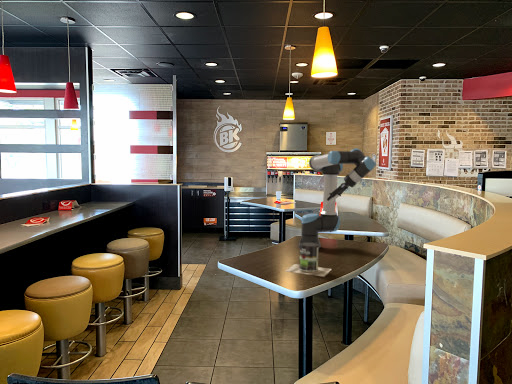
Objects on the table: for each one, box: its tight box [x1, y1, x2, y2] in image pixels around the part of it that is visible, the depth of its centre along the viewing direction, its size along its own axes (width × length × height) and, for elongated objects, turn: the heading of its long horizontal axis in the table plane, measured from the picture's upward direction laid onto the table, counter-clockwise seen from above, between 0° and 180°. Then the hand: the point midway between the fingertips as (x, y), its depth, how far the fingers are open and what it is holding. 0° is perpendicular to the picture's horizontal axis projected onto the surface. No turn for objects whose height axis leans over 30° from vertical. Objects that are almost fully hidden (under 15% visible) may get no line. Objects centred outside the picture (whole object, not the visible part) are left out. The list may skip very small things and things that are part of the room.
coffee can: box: [298, 242, 319, 272], centre depth 215 cm, size 10×10×14 cm
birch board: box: [284, 263, 332, 278], centre depth 215 cm, size 22×16×1 cm
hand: (326, 202), depth 237 cm, fingers open, 13 cm apart
